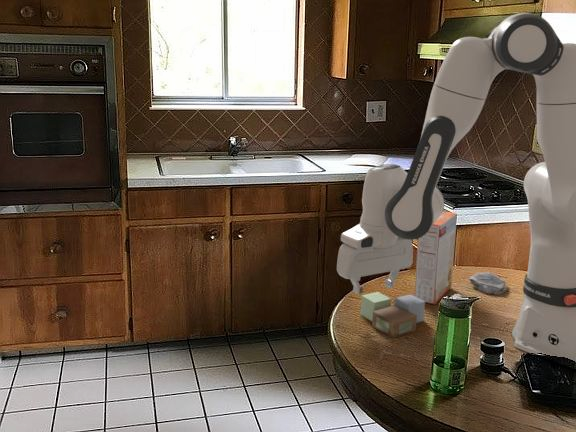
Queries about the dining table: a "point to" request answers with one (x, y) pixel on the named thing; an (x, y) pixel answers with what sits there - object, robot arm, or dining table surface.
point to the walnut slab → (394, 321)
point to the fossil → (488, 283)
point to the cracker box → (436, 259)
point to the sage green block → (373, 304)
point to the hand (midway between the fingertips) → (373, 289)
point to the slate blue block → (412, 305)
